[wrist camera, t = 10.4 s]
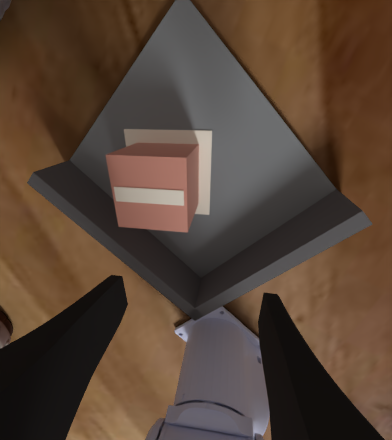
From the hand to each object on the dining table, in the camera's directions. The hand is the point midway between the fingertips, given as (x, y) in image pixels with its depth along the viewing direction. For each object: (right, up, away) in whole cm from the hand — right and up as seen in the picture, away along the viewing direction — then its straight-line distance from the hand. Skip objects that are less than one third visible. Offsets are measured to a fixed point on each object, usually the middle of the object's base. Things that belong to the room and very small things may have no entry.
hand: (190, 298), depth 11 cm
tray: (0, +7, +8) cm, 11 cm away
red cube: (-2, +8, +7) cm, 11 cm away
